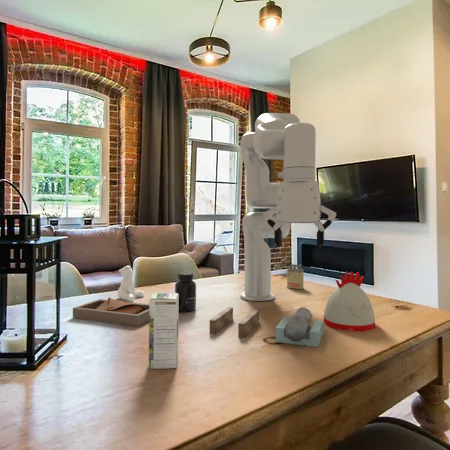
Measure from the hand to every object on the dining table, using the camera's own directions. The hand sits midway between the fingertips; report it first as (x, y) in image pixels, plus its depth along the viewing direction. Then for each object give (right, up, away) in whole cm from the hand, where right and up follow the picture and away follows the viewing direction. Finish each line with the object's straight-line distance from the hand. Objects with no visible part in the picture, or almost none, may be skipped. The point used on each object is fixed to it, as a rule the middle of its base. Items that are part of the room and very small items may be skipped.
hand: (298, 247), depth 89 cm
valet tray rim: (-51, -23, +22) cm, 60 cm away
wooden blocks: (-15, -23, +12) cm, 30 cm away
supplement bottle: (-31, -22, +30) cm, 48 cm away
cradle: (+1, -23, +4) cm, 23 cm away
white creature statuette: (-53, -22, +46) cm, 74 cm away
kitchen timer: (+17, -23, +16) cm, 33 cm away
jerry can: (+11, -21, +64) cm, 68 cm away
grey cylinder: (+1, -22, +3) cm, 22 cm away
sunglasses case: (-51, -23, +22) cm, 60 cm away
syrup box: (-31, -24, -12) cm, 41 cm away
